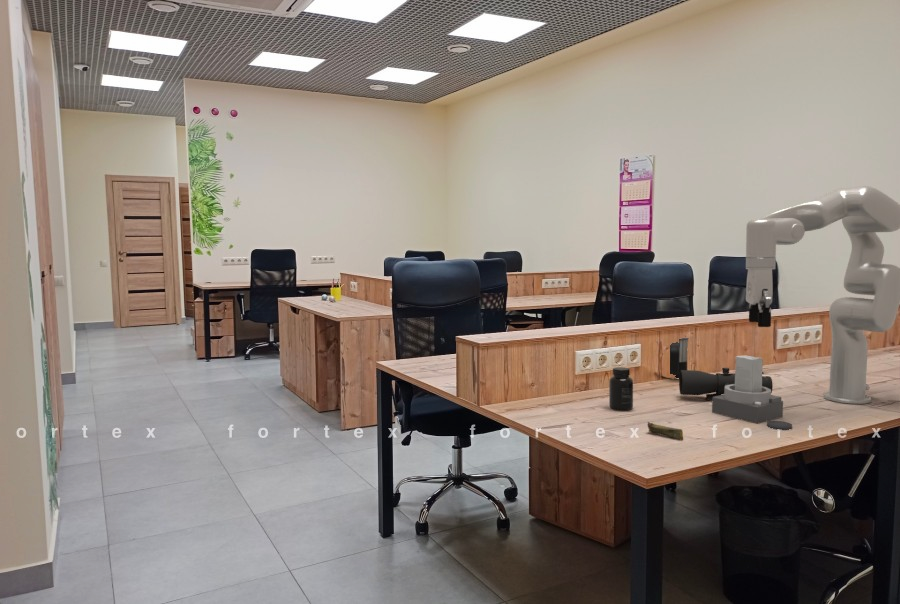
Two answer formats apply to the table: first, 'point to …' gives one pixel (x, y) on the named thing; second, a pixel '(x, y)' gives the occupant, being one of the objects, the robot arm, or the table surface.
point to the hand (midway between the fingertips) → (759, 324)
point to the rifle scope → (710, 382)
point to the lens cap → (779, 425)
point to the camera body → (748, 405)
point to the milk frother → (678, 356)
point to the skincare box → (748, 374)
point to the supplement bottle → (621, 390)
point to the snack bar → (665, 430)
